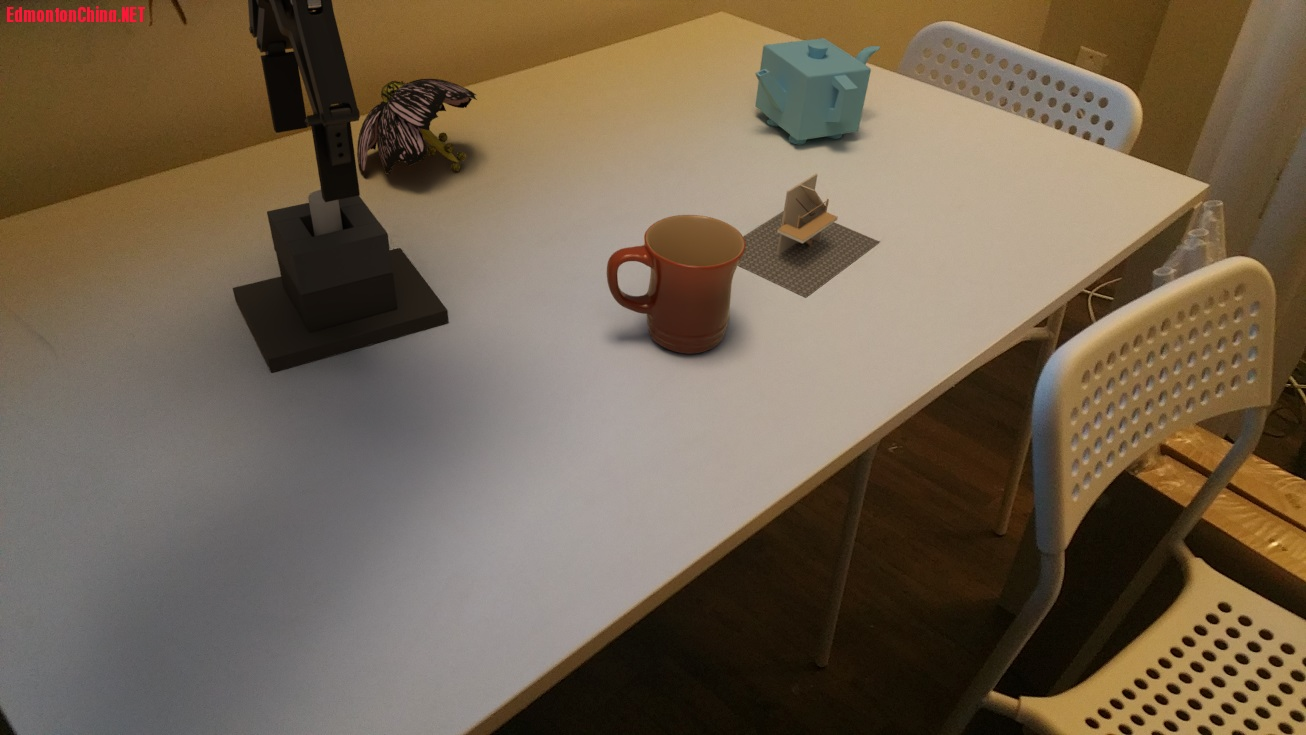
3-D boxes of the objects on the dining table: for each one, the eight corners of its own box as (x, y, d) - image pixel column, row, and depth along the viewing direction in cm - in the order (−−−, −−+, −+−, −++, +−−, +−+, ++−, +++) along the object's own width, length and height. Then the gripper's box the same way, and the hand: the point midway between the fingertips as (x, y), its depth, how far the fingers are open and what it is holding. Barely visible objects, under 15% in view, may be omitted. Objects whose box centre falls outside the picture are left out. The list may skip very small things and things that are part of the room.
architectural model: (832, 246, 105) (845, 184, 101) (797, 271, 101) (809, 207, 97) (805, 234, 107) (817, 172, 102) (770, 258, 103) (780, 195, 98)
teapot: (720, 113, 131) (729, 28, 124) (833, 97, 137) (848, 16, 130) (781, 165, 120) (795, 75, 113) (901, 145, 126) (921, 59, 119)
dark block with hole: (309, 333, 86) (301, 295, 83) (283, 287, 91) (275, 250, 88) (397, 309, 89) (393, 272, 87) (367, 266, 94) (362, 230, 92)
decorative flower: (399, 49, 116) (480, 47, 106) (445, 134, 123) (525, 140, 113) (308, 118, 109) (386, 122, 99) (362, 203, 116) (440, 216, 107)
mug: (718, 305, 95) (730, 211, 89) (743, 360, 89) (758, 263, 82) (596, 313, 93) (599, 218, 87) (612, 371, 86) (617, 272, 80)
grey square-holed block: (300, 295, 83) (293, 255, 81) (274, 250, 88) (266, 211, 86) (392, 272, 87) (387, 233, 84) (362, 230, 92) (356, 192, 89)
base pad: (271, 373, 83) (243, 252, 76) (235, 301, 91) (207, 184, 84) (448, 323, 90) (439, 207, 83) (401, 260, 98) (389, 149, 91)
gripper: (386, -80, 62) (414, 219, 75) (275, -159, 78) (314, 97, 91) (263, -70, 58) (314, 241, 71) (174, -156, 74) (229, 110, 87)
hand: (314, 161), depth 81 cm, fingers open, 13 cm apart
